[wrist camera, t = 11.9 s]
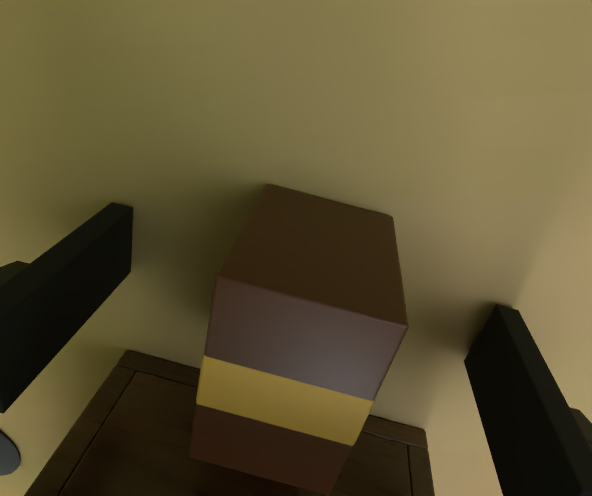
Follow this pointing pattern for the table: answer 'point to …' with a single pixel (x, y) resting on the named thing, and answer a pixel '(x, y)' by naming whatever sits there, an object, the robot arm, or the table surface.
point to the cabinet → (176, 442)
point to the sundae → (8, 456)
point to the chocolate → (298, 339)
